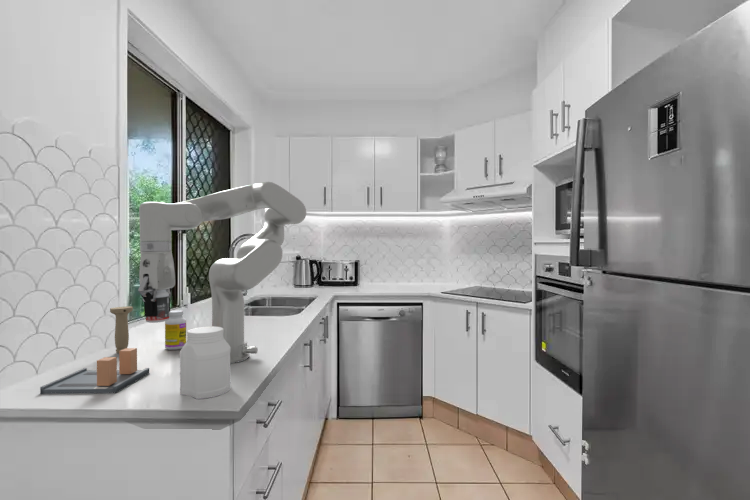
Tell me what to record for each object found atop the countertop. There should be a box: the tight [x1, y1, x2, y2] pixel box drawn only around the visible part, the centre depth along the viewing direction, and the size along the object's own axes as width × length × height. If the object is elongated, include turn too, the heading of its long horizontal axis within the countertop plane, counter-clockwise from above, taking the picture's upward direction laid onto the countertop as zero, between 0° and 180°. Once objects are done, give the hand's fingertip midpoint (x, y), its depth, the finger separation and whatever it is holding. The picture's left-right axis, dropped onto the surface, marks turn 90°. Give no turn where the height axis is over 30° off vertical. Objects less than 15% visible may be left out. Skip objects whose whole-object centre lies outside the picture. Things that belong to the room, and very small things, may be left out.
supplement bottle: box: [164, 309, 187, 351], centre depth 141 cm, size 7×7×13 cm
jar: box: [179, 326, 232, 400], centre depth 100 cm, size 12×10×15 cm
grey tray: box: [39, 367, 150, 395], centre depth 106 cm, size 18×15×2 cm
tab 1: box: [96, 356, 118, 386], centre depth 101 cm, size 3×3×6 cm
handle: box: [109, 305, 134, 354], centre depth 135 cm, size 5×6×15 cm
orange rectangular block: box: [118, 347, 138, 374], centre depth 110 cm, size 3×3×6 cm
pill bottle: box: [145, 288, 170, 324], centre depth 111 cm, size 6×6×10 cm
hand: (157, 313), depth 111 cm, fingers closed on pill bottle, 5 cm apart
